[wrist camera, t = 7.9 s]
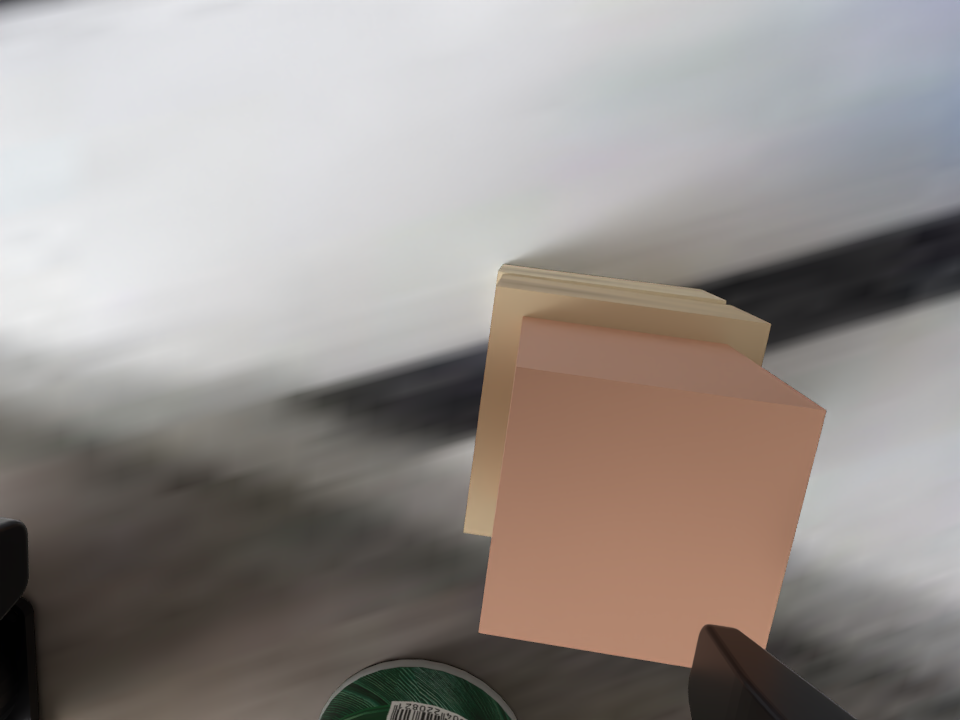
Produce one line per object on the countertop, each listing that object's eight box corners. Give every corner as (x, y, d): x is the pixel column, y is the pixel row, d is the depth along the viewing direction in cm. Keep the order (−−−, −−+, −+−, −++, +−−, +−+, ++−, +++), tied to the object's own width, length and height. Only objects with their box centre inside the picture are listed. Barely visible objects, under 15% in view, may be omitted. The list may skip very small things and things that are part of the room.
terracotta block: (727, 343, 14) (826, 410, 9) (686, 531, 15) (757, 678, 10) (523, 315, 14) (515, 366, 10) (496, 502, 16) (478, 632, 11)
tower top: (685, 515, 18) (713, 572, 15) (474, 482, 19) (463, 532, 16) (730, 305, 17) (771, 323, 14) (502, 274, 17) (496, 286, 14)
